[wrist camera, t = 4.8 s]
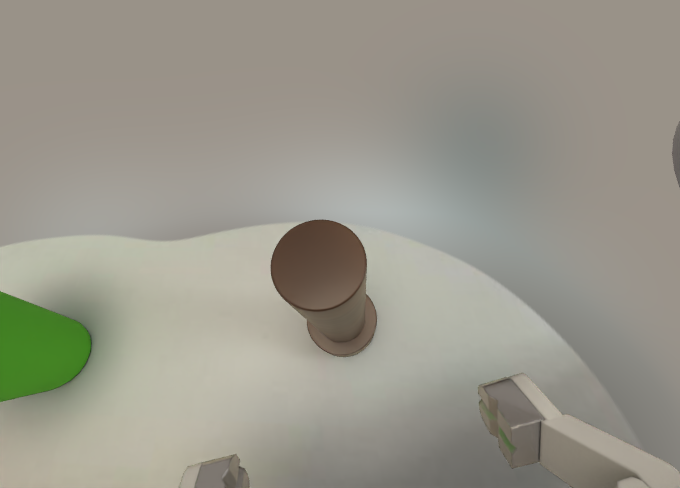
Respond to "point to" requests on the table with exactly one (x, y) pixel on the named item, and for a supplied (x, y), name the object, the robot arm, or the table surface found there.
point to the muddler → (326, 284)
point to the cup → (37, 348)
